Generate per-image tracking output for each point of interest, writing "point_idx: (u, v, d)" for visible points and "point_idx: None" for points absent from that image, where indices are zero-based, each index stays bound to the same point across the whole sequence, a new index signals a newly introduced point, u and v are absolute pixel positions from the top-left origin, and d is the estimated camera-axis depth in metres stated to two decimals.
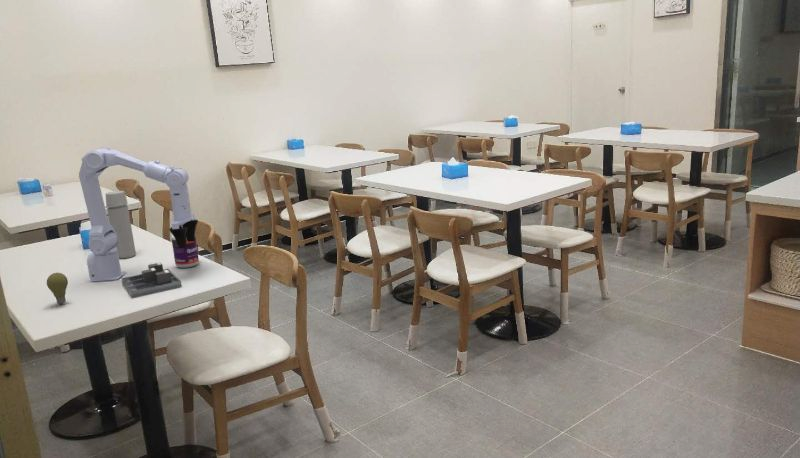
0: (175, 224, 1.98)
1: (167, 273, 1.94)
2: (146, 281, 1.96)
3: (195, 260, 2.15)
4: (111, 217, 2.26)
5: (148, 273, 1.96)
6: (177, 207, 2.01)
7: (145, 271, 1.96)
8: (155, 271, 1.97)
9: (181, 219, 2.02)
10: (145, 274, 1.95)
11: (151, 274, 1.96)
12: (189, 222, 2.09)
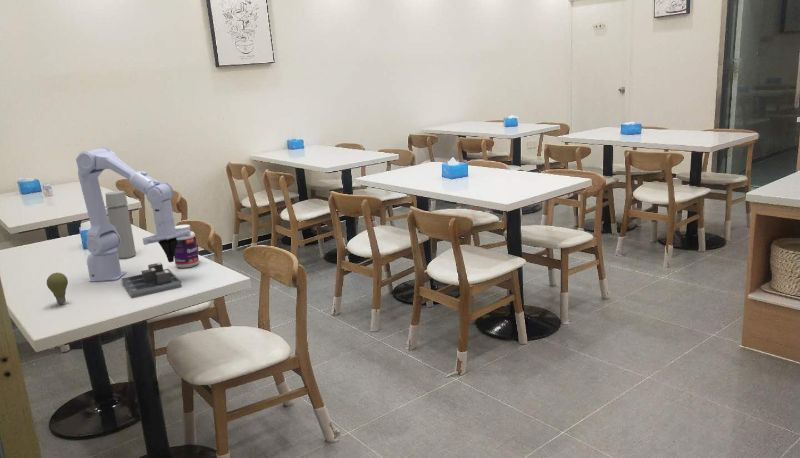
0: (143, 240, 1.94)
1: (167, 273, 1.94)
2: (146, 281, 1.96)
3: (195, 260, 2.15)
4: (111, 217, 2.26)
5: (148, 273, 1.96)
6: (155, 223, 1.95)
7: (145, 271, 1.96)
8: (155, 271, 1.97)
9: (157, 235, 1.96)
10: (145, 274, 1.95)
11: (151, 274, 1.96)
12: (168, 241, 1.98)
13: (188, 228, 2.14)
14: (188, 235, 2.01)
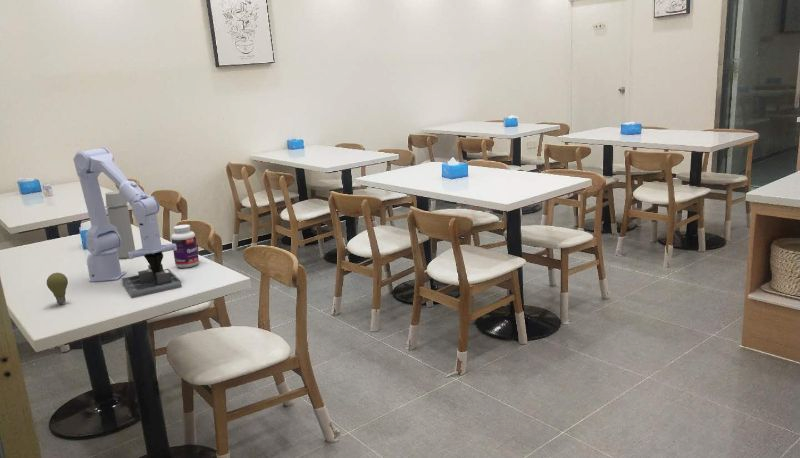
0: (128, 254, 1.92)
1: (167, 273, 1.94)
2: (142, 282, 1.95)
3: (195, 260, 2.15)
4: (111, 217, 2.26)
5: (144, 274, 1.95)
6: None
7: (141, 272, 1.96)
8: (151, 272, 1.96)
9: (143, 249, 1.94)
10: (141, 275, 1.95)
11: (147, 275, 1.96)
12: (154, 255, 1.97)
13: (188, 228, 2.14)
14: (174, 249, 1.99)
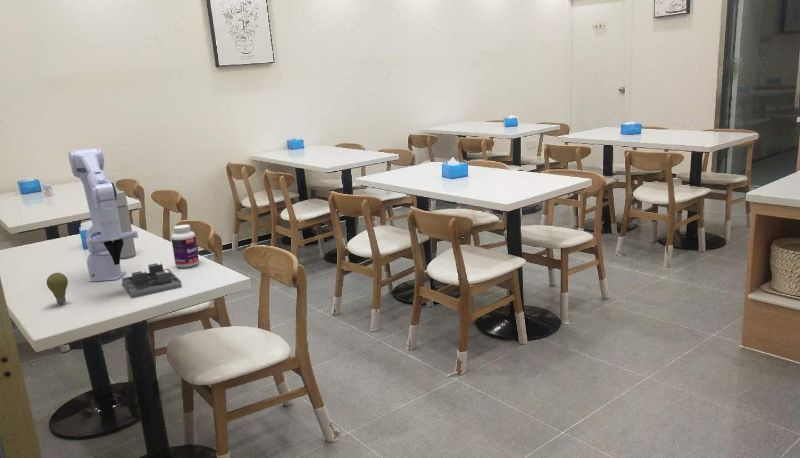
0: (86, 241, 1.85)
1: (167, 273, 1.94)
2: (136, 283, 1.94)
3: (195, 260, 2.15)
4: None
5: (138, 275, 1.94)
6: (99, 223, 1.86)
7: (135, 273, 1.95)
8: (145, 273, 1.95)
9: (102, 237, 1.87)
10: (135, 276, 1.94)
11: (141, 276, 1.95)
12: (114, 243, 1.89)
13: (188, 228, 2.14)
14: (135, 236, 1.92)
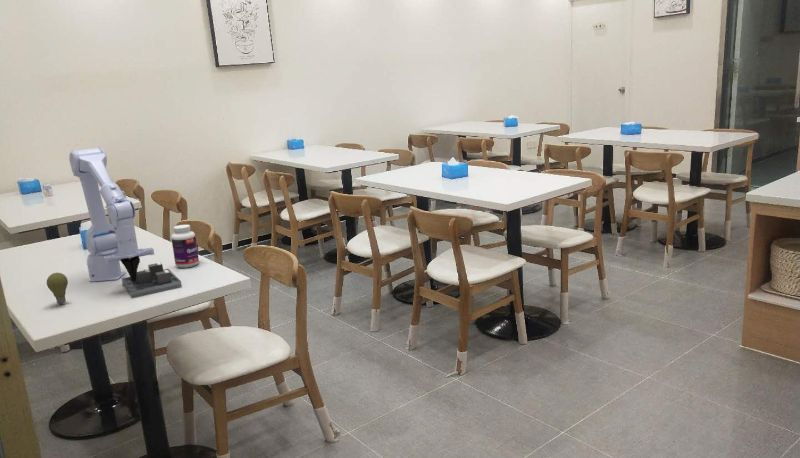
0: (104, 258, 1.89)
1: (167, 273, 1.94)
2: (140, 282, 1.95)
3: (195, 260, 2.15)
4: None
5: (142, 274, 1.95)
6: (116, 241, 1.90)
7: (139, 272, 1.95)
8: (149, 272, 1.96)
9: (119, 254, 1.91)
10: (139, 275, 1.94)
11: (145, 275, 1.95)
12: (131, 260, 1.93)
13: (188, 228, 2.14)
14: (151, 253, 1.96)
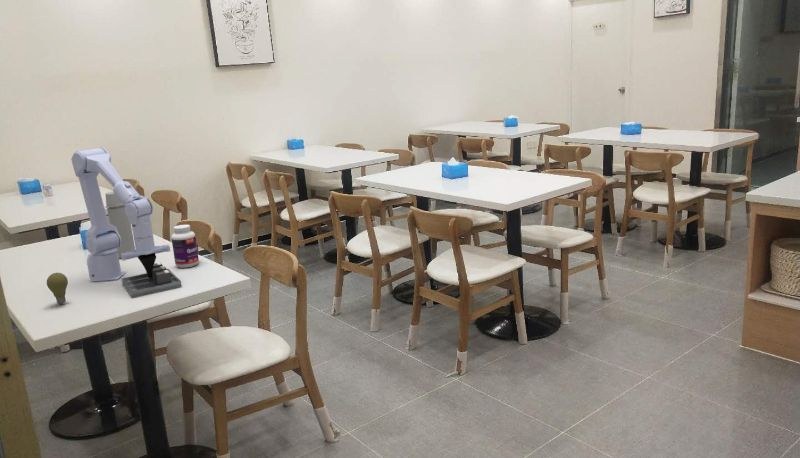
0: (121, 255, 1.91)
1: (167, 273, 1.94)
2: None
3: (195, 260, 2.15)
4: (111, 217, 2.26)
5: (158, 271, 1.97)
6: (134, 238, 1.93)
7: (155, 269, 1.98)
8: (165, 269, 1.98)
9: (136, 251, 1.93)
10: (155, 272, 1.97)
11: None
12: None
13: (188, 228, 2.14)
14: (168, 250, 1.98)
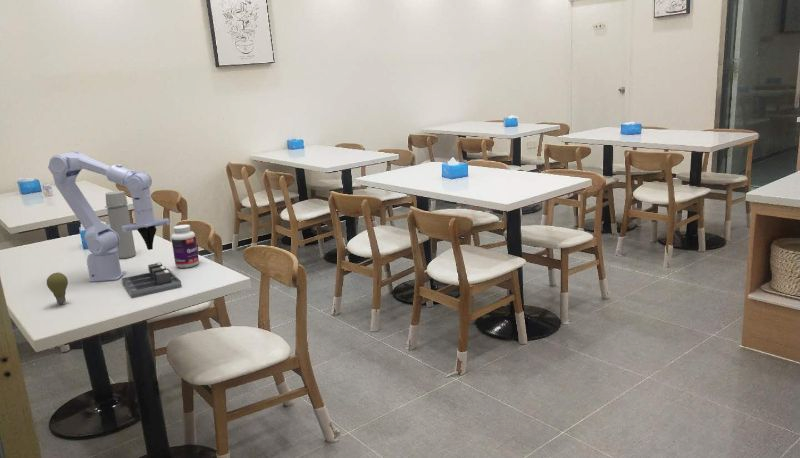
0: (122, 227, 1.98)
1: (167, 273, 1.94)
2: None
3: (195, 260, 2.15)
4: (111, 217, 2.26)
5: (158, 271, 1.97)
6: (134, 211, 2.00)
7: (155, 269, 1.98)
8: (165, 269, 1.98)
9: (136, 223, 2.00)
10: (155, 272, 1.97)
11: None
12: (147, 229, 2.02)
13: (188, 228, 2.14)
14: (167, 223, 2.05)
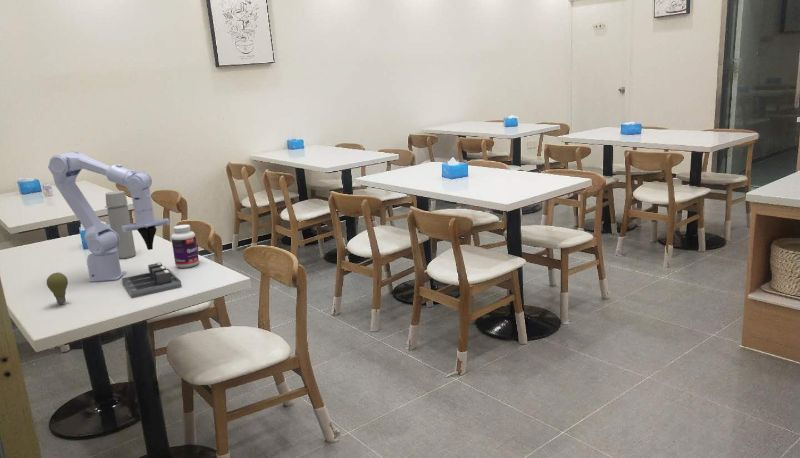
0: (122, 227, 1.98)
1: (167, 273, 1.94)
2: None
3: (195, 260, 2.15)
4: (111, 217, 2.26)
5: (158, 271, 1.97)
6: (134, 211, 2.00)
7: (155, 269, 1.98)
8: (165, 269, 1.98)
9: (136, 223, 2.00)
10: (155, 272, 1.97)
11: None
12: (147, 229, 2.02)
13: (188, 228, 2.14)
14: (167, 223, 2.05)
